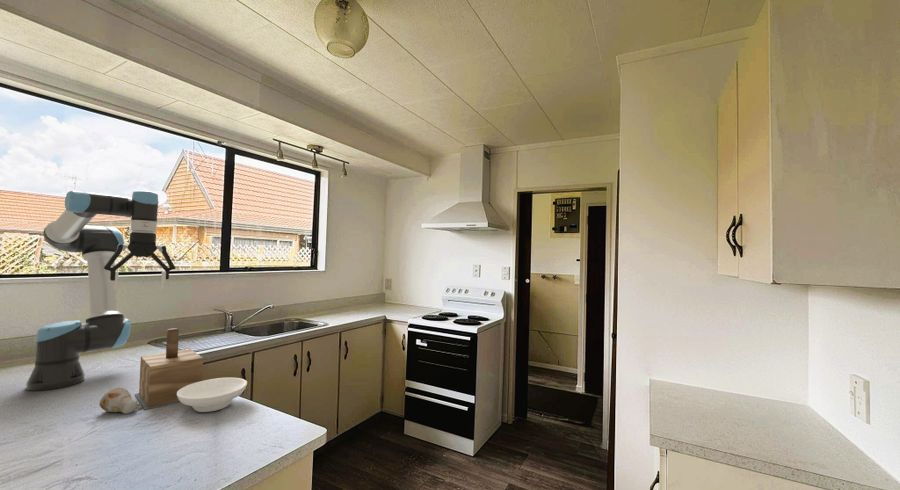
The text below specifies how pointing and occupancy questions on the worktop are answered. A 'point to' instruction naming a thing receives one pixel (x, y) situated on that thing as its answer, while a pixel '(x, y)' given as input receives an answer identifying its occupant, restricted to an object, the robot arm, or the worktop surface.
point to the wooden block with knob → (168, 372)
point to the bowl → (211, 393)
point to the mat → (152, 406)
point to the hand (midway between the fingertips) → (140, 288)
